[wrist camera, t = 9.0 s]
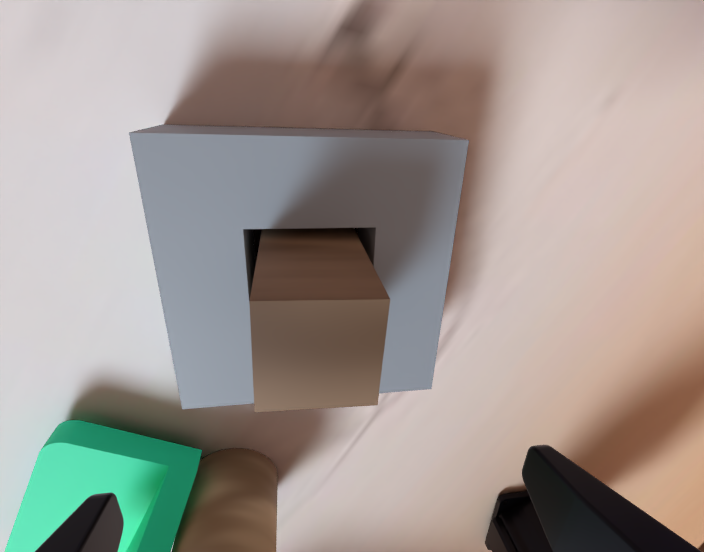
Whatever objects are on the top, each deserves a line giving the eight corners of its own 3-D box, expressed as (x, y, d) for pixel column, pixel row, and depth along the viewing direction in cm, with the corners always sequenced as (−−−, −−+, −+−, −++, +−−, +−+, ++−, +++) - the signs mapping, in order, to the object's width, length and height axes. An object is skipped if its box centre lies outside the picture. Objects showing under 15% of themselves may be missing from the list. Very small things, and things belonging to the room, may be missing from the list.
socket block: (432, 131, 18) (469, 140, 15) (408, 343, 23) (431, 388, 20) (163, 124, 16) (128, 132, 13) (199, 356, 21) (182, 409, 18)
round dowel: (275, 444, 25) (273, 538, 20) (279, 501, 27) (277, 600, 22) (184, 452, 24) (155, 554, 19) (196, 511, 27) (173, 617, 21)
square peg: (342, 286, 21) (377, 405, 13) (266, 287, 20) (254, 412, 12) (346, 214, 19) (390, 299, 11) (264, 212, 19) (249, 301, 11)
